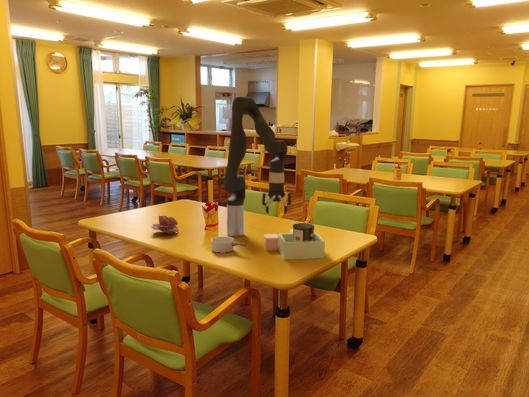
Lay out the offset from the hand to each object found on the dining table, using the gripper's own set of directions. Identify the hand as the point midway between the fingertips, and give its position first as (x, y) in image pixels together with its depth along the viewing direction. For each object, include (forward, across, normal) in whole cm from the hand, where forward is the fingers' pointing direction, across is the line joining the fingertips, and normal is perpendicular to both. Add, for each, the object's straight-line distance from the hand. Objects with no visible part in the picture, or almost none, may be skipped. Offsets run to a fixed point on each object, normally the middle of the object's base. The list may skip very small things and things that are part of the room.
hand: (276, 213), depth 206 cm
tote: (+17, +11, -11) cm, 23 cm away
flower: (+17, -60, +29) cm, 68 cm away
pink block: (+17, -3, -3) cm, 18 cm away
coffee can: (+18, +12, -12) cm, 24 cm away
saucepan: (+18, -24, -7) cm, 30 cm away
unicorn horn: (+18, +16, +9) cm, 26 cm away
